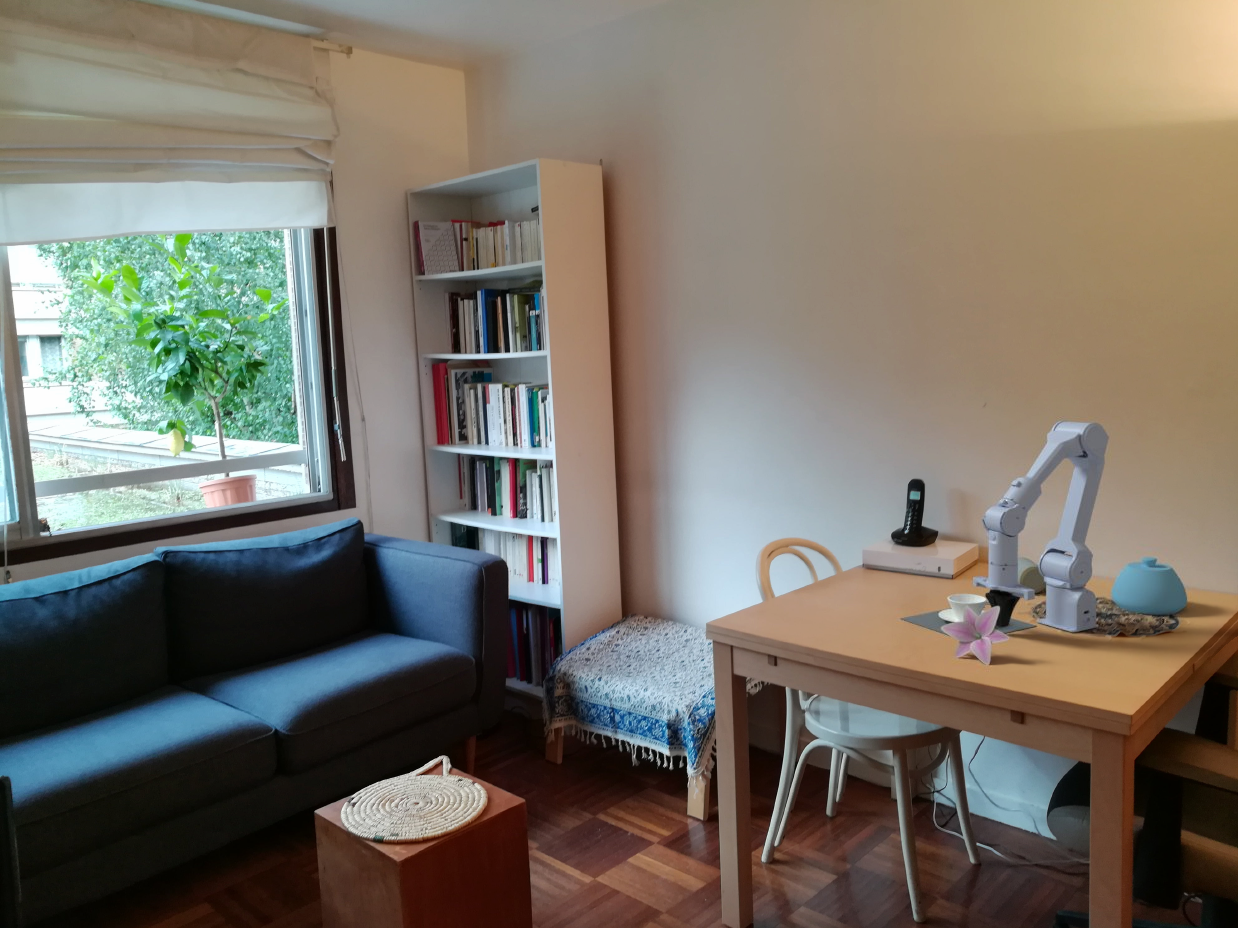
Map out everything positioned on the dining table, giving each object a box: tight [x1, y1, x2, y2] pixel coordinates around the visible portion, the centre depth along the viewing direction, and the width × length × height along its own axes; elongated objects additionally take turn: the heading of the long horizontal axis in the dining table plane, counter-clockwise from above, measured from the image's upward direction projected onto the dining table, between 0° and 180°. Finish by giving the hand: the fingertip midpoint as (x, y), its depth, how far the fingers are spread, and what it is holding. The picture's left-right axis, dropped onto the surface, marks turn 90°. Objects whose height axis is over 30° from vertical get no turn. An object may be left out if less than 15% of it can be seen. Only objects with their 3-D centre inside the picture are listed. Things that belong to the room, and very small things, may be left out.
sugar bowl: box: [1110, 556, 1188, 616], centre depth 209 cm, size 15×15×12 cm
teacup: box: [938, 593, 991, 622], centre depth 203 cm, size 12×12×5 cm
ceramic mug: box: [1018, 556, 1046, 594], centre depth 227 cm, size 11×8×8 cm
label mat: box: [900, 607, 1037, 637], centre depth 204 cm, size 20×20×1 cm
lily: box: [941, 606, 1011, 666], centre depth 182 cm, size 12×12×10 cm
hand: (1002, 625), depth 194 cm, fingers closed
